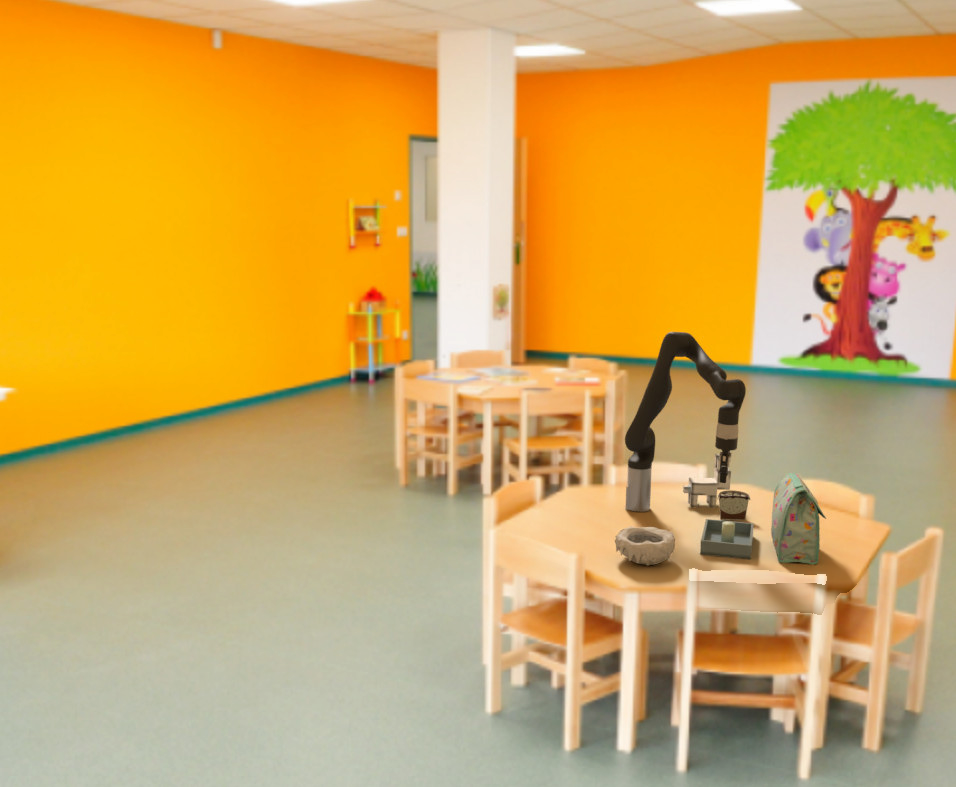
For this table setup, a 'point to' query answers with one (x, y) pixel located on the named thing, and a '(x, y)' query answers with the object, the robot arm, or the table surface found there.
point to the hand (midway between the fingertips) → (723, 479)
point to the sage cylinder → (728, 532)
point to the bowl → (645, 544)
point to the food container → (733, 505)
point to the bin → (717, 548)
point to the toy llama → (707, 486)
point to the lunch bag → (795, 522)
